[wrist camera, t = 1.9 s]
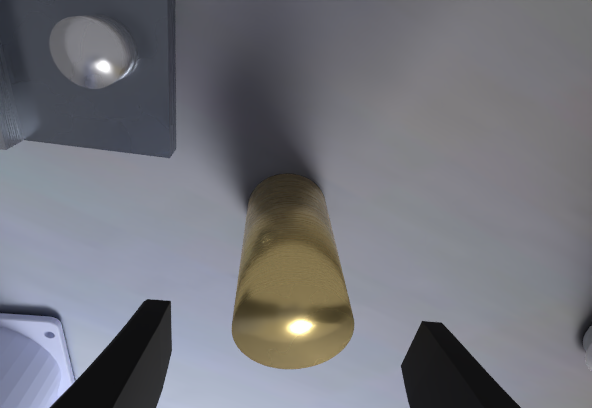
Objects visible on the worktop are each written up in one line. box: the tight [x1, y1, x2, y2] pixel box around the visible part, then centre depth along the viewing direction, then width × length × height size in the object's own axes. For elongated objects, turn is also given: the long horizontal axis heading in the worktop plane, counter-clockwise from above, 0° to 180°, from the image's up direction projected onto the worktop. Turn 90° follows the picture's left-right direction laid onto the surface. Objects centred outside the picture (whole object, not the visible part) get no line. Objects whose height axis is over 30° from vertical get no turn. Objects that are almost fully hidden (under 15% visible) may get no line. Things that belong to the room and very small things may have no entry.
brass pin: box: [232, 174, 354, 369], centre depth 14 cm, size 4×4×7 cm
